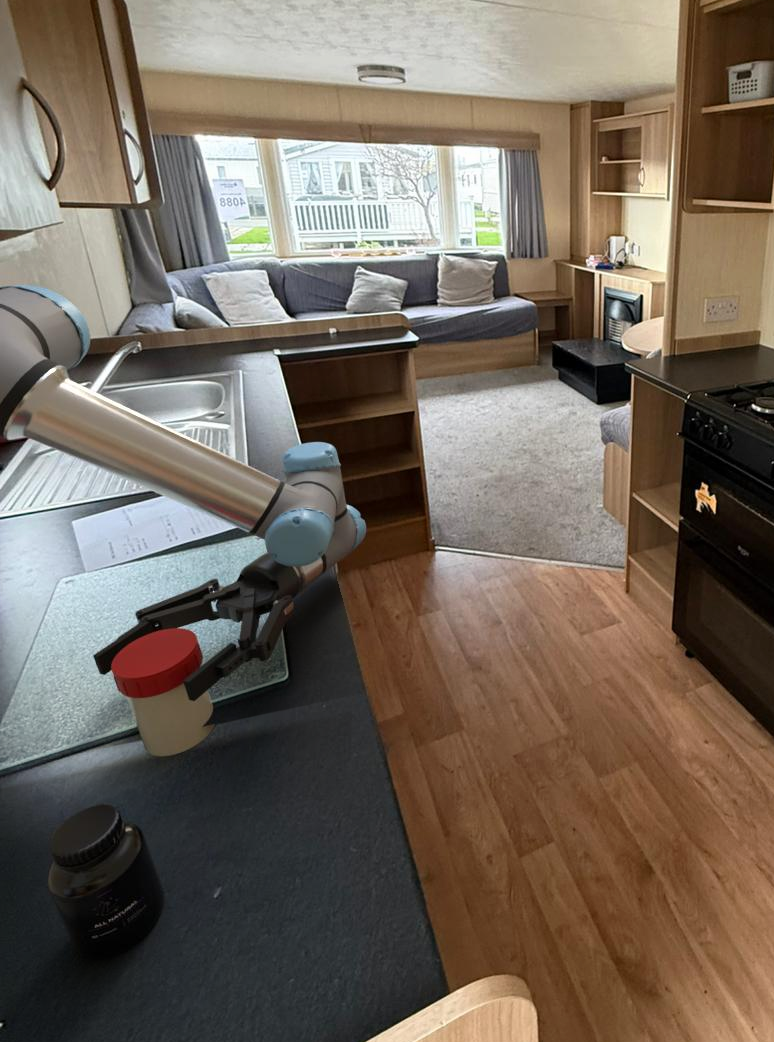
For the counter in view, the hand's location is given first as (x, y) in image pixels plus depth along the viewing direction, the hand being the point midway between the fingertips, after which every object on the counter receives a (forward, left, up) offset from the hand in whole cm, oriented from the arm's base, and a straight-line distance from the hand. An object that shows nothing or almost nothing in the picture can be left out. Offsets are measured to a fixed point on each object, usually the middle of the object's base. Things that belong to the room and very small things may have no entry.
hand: (142, 678), depth 74 cm
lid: (+1, +2, +1) cm, 3 cm away
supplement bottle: (+2, -21, -10) cm, 24 cm away
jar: (+1, +2, -10) cm, 10 cm away
